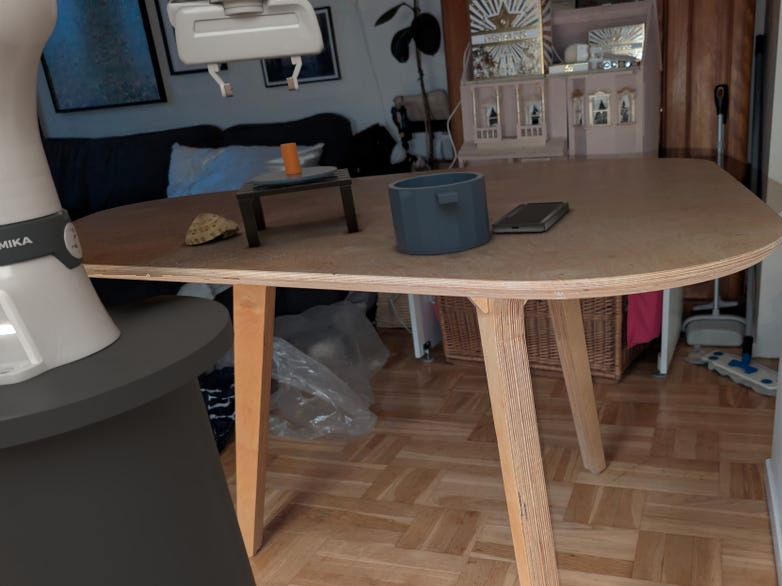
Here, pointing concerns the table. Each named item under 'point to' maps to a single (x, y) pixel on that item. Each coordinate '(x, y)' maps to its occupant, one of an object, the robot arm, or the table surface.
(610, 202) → the table surface
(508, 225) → the phone
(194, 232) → the seashell
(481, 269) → the table surface
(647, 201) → the table surface
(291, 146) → the lid
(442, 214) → the pot
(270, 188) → the rack
